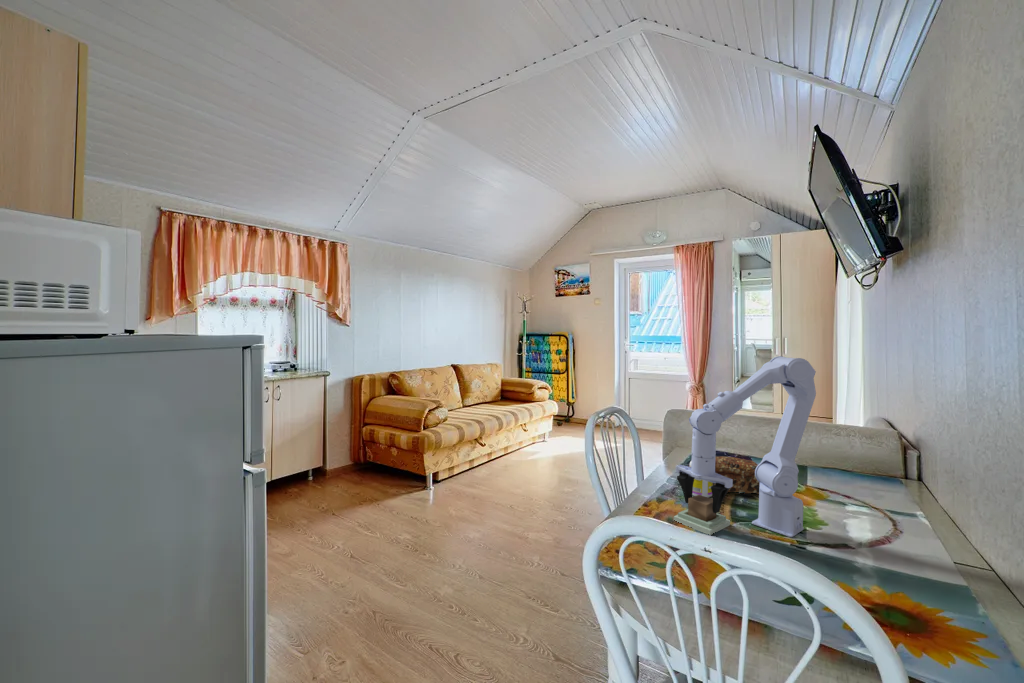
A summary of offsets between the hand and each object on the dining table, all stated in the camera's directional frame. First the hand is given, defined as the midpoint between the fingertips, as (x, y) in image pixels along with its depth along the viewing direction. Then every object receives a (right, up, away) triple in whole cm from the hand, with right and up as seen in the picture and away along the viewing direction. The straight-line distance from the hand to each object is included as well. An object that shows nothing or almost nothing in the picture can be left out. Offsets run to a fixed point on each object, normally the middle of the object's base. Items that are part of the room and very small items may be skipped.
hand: (702, 507), depth 114 cm
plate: (0, -4, 0) cm, 4 cm away
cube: (0, -3, 0) cm, 3 cm away
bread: (+20, -4, +27) cm, 34 cm away
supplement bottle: (+8, -4, +20) cm, 22 cm away
